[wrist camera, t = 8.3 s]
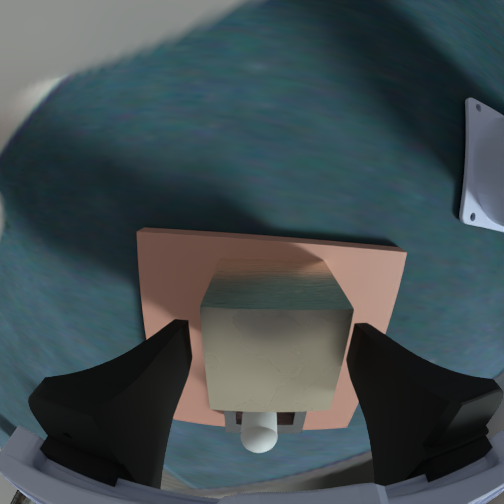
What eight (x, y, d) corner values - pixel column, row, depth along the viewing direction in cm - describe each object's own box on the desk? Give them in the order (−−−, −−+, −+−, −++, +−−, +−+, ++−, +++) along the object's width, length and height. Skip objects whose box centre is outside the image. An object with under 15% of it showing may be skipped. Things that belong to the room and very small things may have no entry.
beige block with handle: (220, 257, 13) (199, 307, 9) (323, 260, 13) (354, 309, 9) (227, 415, 17) (220, 473, 12) (299, 416, 17) (306, 474, 12)
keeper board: (399, 247, 14) (454, 285, 9) (344, 418, 18) (358, 473, 13) (144, 227, 14) (88, 259, 9) (164, 407, 18) (145, 462, 13)
